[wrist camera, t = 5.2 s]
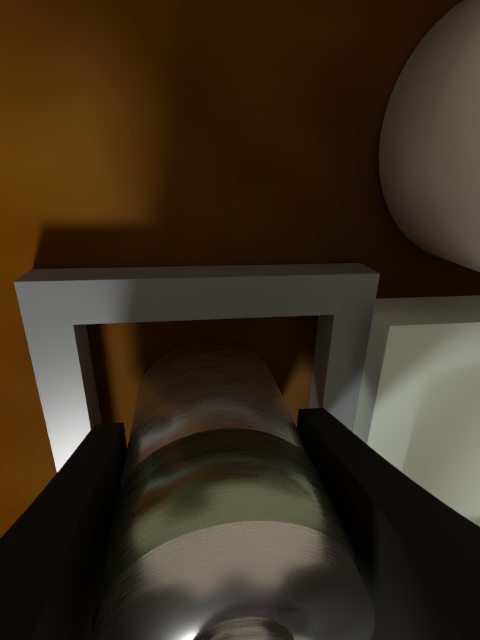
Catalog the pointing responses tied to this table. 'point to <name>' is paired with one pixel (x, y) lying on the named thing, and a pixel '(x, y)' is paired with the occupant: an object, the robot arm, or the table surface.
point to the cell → (224, 515)
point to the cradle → (189, 304)
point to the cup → (437, 141)
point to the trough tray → (426, 395)
